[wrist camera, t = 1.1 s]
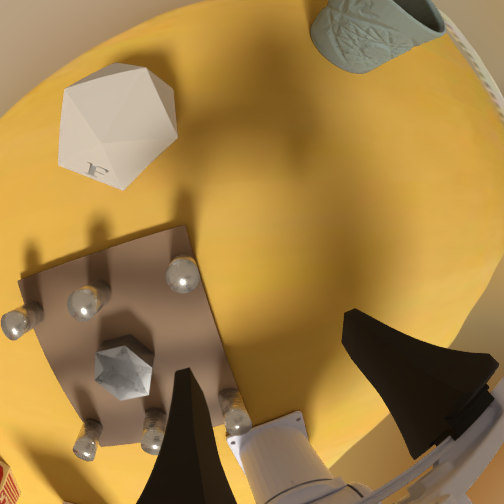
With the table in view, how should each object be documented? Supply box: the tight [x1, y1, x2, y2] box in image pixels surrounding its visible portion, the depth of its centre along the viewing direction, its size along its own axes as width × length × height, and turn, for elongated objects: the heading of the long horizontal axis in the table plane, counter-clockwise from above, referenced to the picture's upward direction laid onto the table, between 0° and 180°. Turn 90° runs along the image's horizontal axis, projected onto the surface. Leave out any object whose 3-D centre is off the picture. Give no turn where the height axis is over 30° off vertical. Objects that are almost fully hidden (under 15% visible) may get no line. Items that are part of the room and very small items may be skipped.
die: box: [58, 63, 178, 191], centre depth 15 cm, size 8×9×10 cm
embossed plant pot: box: [310, 0, 446, 74], centre depth 17 cm, size 10×10×12 cm
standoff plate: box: [18, 225, 239, 447], centre depth 19 cm, size 18×16×1 cm
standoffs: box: [1, 254, 252, 461], centre depth 17 cm, size 14×16×4 cm
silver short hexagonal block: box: [95, 334, 155, 401], centre depth 18 cm, size 4×5×2 cm
